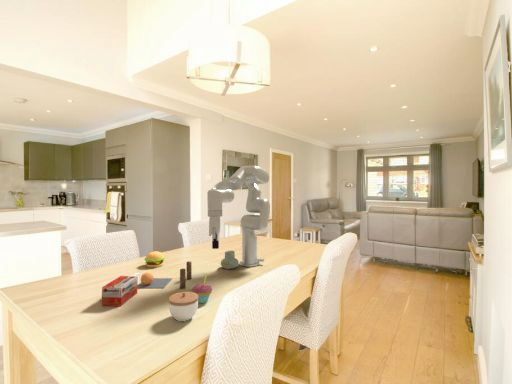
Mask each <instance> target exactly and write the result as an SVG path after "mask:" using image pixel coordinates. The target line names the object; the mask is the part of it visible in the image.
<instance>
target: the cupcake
mask: <svg viewBox="0 0 512 384" xmlns="http://www.w3.org/2000/svg"><path fill="white" fill-rule="evenodd" d="M206 281H207V274H205V275H204V278H203V283H199V284H196V285H195V286H193V287H192V289H191V292H194V293H196V294H198V296H199V298H198V304H205V303H207V302H208V301H209V297H210V296H211V294H212V292H213V288H212V287H211V285H209V284H207V283H206Z"/></svg>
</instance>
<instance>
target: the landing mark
mask: <svg viewBox="0 0 512 384" xmlns="http://www.w3.org/2000/svg"><path fill="white" fill-rule="evenodd" d="M172 279H173V277H169V278H167V277H166V278H165V277H164V278H163V277H160V278H159V277H158V278H155V277H154V279H153V282H152V283H151V284H149V285H144V284H142V283H141V282H140V283H138V284H137V289H165V287H166V286H167V285H168V284H169V283H170V282H171V281H172Z"/></svg>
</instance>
